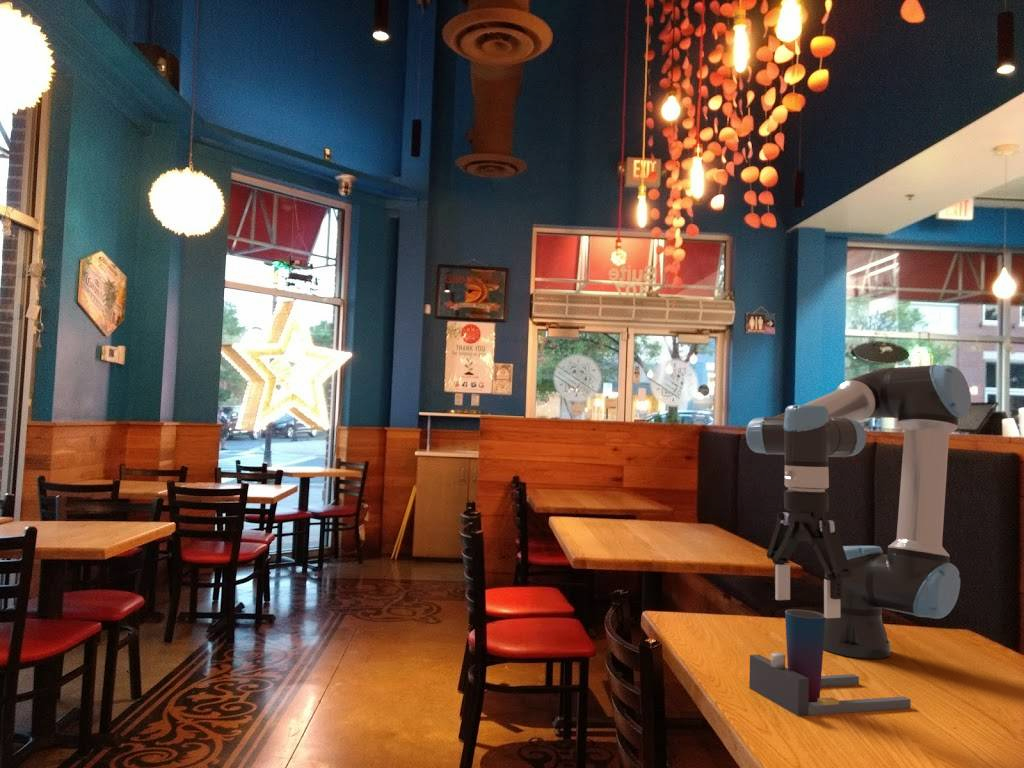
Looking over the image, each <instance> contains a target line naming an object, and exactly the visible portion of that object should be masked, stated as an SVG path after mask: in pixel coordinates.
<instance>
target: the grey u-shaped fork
mask: <svg viewBox="0 0 1024 768" xmlns="http://www.w3.org/2000/svg"><path fill="white" fill-rule="evenodd" d="M856 685H860V676H858V675H856V674H855V673H851V674H850V673H849V674H846V673H845V674H834V675H832V674H831V675H828V674H827V675H821V687H820V688H825V687H827V688H828V687H841V686H843V687H844V686H856ZM749 689H750V690H752V691H754V692H756V693H757V694H758V695H760V696H762V697H764V698H766V699H768V700H770V701H771V702H773V703H774V704H776V705H778V706H780V707H781V708H783V709H785V710H787V711H788V712H791V713H792V714H793V715H795V716H797V717H805V716H806V717H807V716H817V715H820V716H821V715H833V714H834V715H835V714H846V713H859V712H862V713H863V712H874V711H875V712H878V711H888V710H890V711H891V710H902V709H903V710H904V709H905V710H907V709H911V708H912V707H911V703H912V702H911V701H912V700H911V698H909V697H906V696H891V697H890V696H889V697H875V698H872V697H871V698H861V699H859V698H858V699H845V700H842V699H841V700H839V699H837V698H834V697H832V696H831V697H820V698H818V699H817V702H811V703H809V679H808V678H806V677H804V676H802V675H800V674H798V673H796V672H794V671H792V670H790V669H788V667H786V654H784V653H781V652H771V653H770V659H769V658H768V657H765V656H763V655H762V654H749Z"/></svg>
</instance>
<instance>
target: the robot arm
mask: <svg viewBox="0 0 1024 768" xmlns="http://www.w3.org/2000/svg"><path fill="white" fill-rule="evenodd" d="M971 397H972V396H971V390H970V388H969V385H968V382H967V379H966V377H965V375H964V373H963V372H962V371H961V370H960V369H959V368H958V367H956V366H954V365H951V364H947V365H941V364H939V365H936V364H930V365H919V366H905V367H904V366H903V367H886V368H885V367H884V368H881V369H876V370H872V371H869V372H866V373H864V374H861V375H858V376H856V377H853V378H851V379H848V380H847V381H845V382H842V383H840V384H839V385H838V386H837V388H836V389H835V390H834V391H831V392H829V393H826V394H825V395H822V396H820V397H818V398H816V399H813V400H810V401H808V402H806V403H804V404H791V405H788V406H787V407H786V408H785V410H784V412H783V413H780V414H778V415H776V416H771V417H767V416H762V417H756V418H752V419H751V420H750V421H749V423H748V424H747V426H746V430H745V438H746V444H747V446H748V448H749V449H750V450H751V451H752V452H753V453H757V454H765V455H768V456H769V455H784V460H783V461H784V486H785V488H787V489H786V490H785V491H783V496H784V497H783V503H784V504H783V506H784V509H785V510H786V511H788V512H777V514H776V525H775V527H774V531H773V533H772V537H771V540H770V542H769V546H768V549H767V552H766V557H767V559H770V560H771V561H772V563H773V564H774V577H773V578H774V588H775V589H774V590H775V592H774V593H775V594H774V595H775V598H774V600H776V601H788V600H789V601H790V600H791V565H790V563H791V562H790V560H789V559H790V558H791V556H792V555H793V553H794V551H795V550H796V548H797V546H798V545H799V544H800V542H803V543H808V545H809V546H810V547H812V549H813V550H814V552H815V555H816V556H817V558H818V561H819V562H820V564H821V567H822V568H823V570H824V574H825V575H824V579H823V614H824V617H825V632H824V646H823V651H826V652H830V653H833V654H836V655H840V656H845V657H850V658H851V657H852V658H858V659H871V660H872V659H885V658H888V657H890V656H891V643H890V641H889V638H888V634H887V630H886V628H885V624H884V621H883V619H882V617H883V616H882V609H883V610H889V611H893V612H899V613H903V614H907V615H912V616H915V617H917V618H918V617H919V618H929V619H936V620H937V619H943V618H944V617H946V616H948V615H949V614H950V613H951V611H953V609H954V607H955V605H956V603H957V601H958V598H959V594H960V590H961V577H960V571H959V569H958V567H957V566H955V565H954V564H952V563H951V562H950V554H949V553H948V552H947V550H946V549H945V548H944V547H943V532H944V520H945V519H944V517H945V505H946V504H945V503H946V491H947V490H946V488H947V486H946V485H947V474H948V473H947V471H948V455H949V441H950V436H951V434H952V433H953V432H955V431H956V430H957V429H958V427H959V420H963V419H964V418H967V417H968V416H969V414H970V411H971V408H972V398H971ZM872 418H873V419H874V418H875V419H877V418H882V419H884V418H886V419H888V418H889V419H890V418H891V419H892V418H893V419H897V425H898V426H899V427H900V429H902V431H903V434H904V435H903V448H902V462H901V472H900V473H901V474H900V475H901V476H900V477H901V478H900V486H899V488H900V490H899V502H898V512H897V513H898V515H897V518H898V519H897V528H896V539H895V540H894V541H893V542H891V544H890V543H889V545H888V546H887V554H884V553H883V552H884V551H883V549H882V547H881V546H879V545H878V546H877V545H843V542H842V540H841V537H840V532H839V531H840V530H839V523H838V521H837V520H833V519H832V520H827V519H826V520H825V516H824V515H825V514H826V513H827V512H829V509H830V508H829V503H830V502H829V501H830V500H829V496H830V495H829V493H828V491H826V490H827V489H828V488H830V483H829V482H830V479H829V474H830V473H829V457H830V458H844V459H845V458H848V457H853V456H856V455H858V454H859V453H861V452H862V451H863V449H864V448H865V445H866V441H867V433H866V431H865V428H864V426H863V425H862V424H861V423H860V422H862V421H865V420H867V419H872Z"/></svg>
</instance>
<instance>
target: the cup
mask: <svg viewBox="0 0 1024 768" xmlns="http://www.w3.org/2000/svg"><path fill="white" fill-rule="evenodd" d="M784 615H785V637H786V639H785V640H786V656H787V657H786V658H787V661H786V663H787V668H788V669H790V670H792V671H794V672H796V673H798V674H800V675H802V676H804V677H806V678H808V679H809V703H811V702H817V699H818V698H821V688H822V687H821V676H822V671H823V660H824V659H823V657H824V649H823V646H824V632H825V617H824V613H821V612H819V611H814V610H807V609H798V608H796V609H795V608H794V609H793V608H792V609H787V610H785V611H784Z"/></svg>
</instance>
